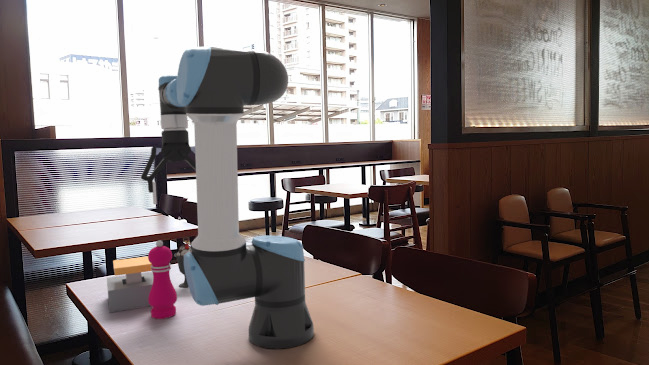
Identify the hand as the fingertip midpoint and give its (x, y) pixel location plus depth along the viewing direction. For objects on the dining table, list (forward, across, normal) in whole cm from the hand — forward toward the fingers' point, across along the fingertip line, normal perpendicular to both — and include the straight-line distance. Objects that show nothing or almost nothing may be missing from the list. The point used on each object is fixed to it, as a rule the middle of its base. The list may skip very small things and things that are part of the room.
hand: (179, 201), depth 150 cm
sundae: (+28, -2, -7) cm, 29 cm away
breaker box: (+28, +14, +1) cm, 31 cm away
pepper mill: (+28, +8, +17) cm, 34 cm away
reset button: (+23, +14, +1) cm, 27 cm away
